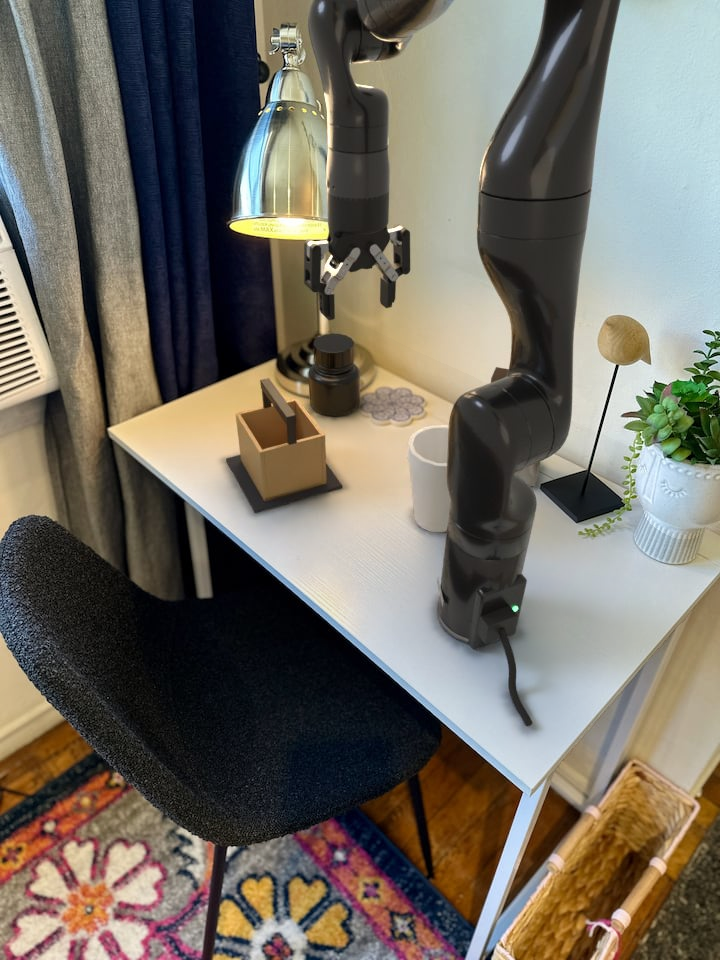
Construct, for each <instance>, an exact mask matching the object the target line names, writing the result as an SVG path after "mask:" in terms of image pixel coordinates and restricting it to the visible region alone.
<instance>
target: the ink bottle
mask: <svg viewBox="0 0 720 960" xmlns="http://www.w3.org/2000/svg"><path fill="white" fill-rule="evenodd" d="M354 357H355V341H354V340H353V338H352V337H350V336H348V335H346V334H342V333H325V334H323V335H319V336H317V337H316V338H315V339H314V340H313V363H312V364H311V366H310V368H309V369H308V396H309V397H308V399H309V404H310V407H311V408H312V409H313V410H314V411H316V412H318V413H319V414H322V415H325V416H329V417H330V416H331V417H334V416H343V415H347V414H349V413H352V412H353V411H355V410H356V409H358V407H359V405H360V404H361V403H360V402H361V373H360V372H361V371H360V368H359V367H358V365H357V364H356V363H355V362H354V361H355V358H354Z"/></svg>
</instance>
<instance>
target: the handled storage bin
mask: <svg viewBox="0 0 720 960" xmlns="http://www.w3.org/2000/svg"><path fill="white" fill-rule="evenodd" d="M259 383H260V389H261V397H262V406H259V407H255V408H251V409H247V410H243V411H238V412H235V420H236V421H235V422H236V431H237V438H238V445H239V446H238V447H239V455H240V456H241V461H242V463H243V465H244V467H245V468H246V470H247V472H248V474H249V475H250V477H251V479H252V481H253V482H254V484H255V486H256V487H257V489H258V491H259V493H260V494H261V496H262V498H263V500H264V501H268V500H271V499H275V498H278V497H282V496H285V495H288V494H292V493H295V492H299V491H302V490H306V489H309V488H313V487H316V486H320V485H323V484H326V464H327V453H326V452H327V451H326V450H327V449H326V447H327V446H326V434H325V433H324V432H323V430H322V429H321V428H320V426H319V425H318V424H317V423H316V421H315V420H314V418H313V417H312V416H311V415H310V413H309V412H308V411H307V409H306V408H305V407H304V405H303V404H302V403H301V401H300V399H298V398H293V399H289V400H286V399H285V398H284V397H283V395H282V394H281V392H280V391H279V390H278V388H277V387H276V386H275V385H274V383H273V382H272V380H271V379H270V377H267V378H263V379H259Z"/></svg>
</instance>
